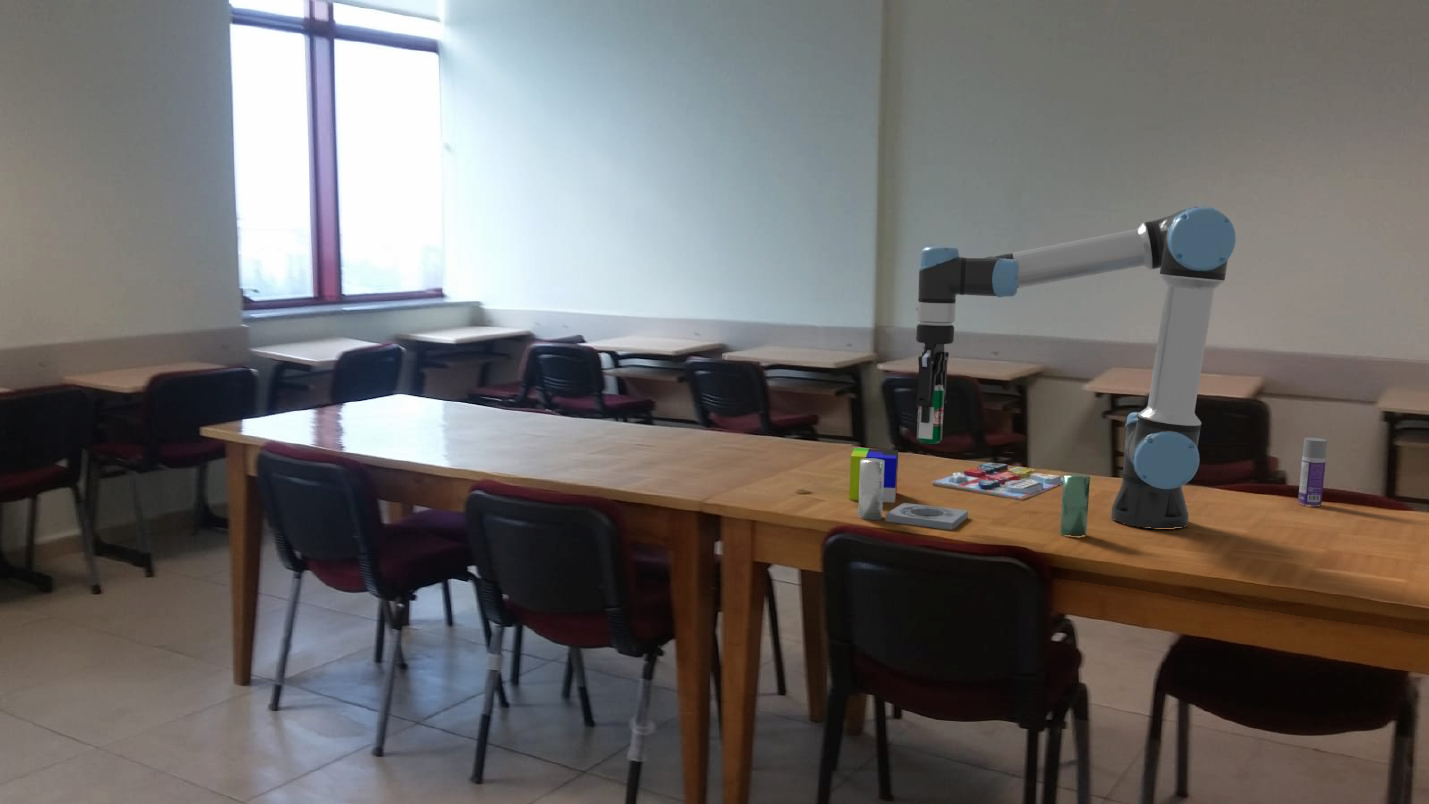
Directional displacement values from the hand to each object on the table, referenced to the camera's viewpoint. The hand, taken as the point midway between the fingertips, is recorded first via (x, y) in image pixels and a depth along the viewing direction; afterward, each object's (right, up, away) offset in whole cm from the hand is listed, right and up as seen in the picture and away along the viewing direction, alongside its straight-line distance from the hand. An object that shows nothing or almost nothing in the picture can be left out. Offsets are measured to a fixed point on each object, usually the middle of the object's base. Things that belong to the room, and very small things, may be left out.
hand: (929, 436), depth 235 cm
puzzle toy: (-8, -15, +23) cm, 29 cm away
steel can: (-12, -17, +4) cm, 21 cm away
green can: (+27, -19, -8) cm, 34 cm away
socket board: (0, -17, +2) cm, 18 cm away
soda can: (0, -1, 0) cm, 1 cm away
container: (+90, -16, +23) cm, 94 cm away
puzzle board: (+26, -13, +41) cm, 50 cm away
